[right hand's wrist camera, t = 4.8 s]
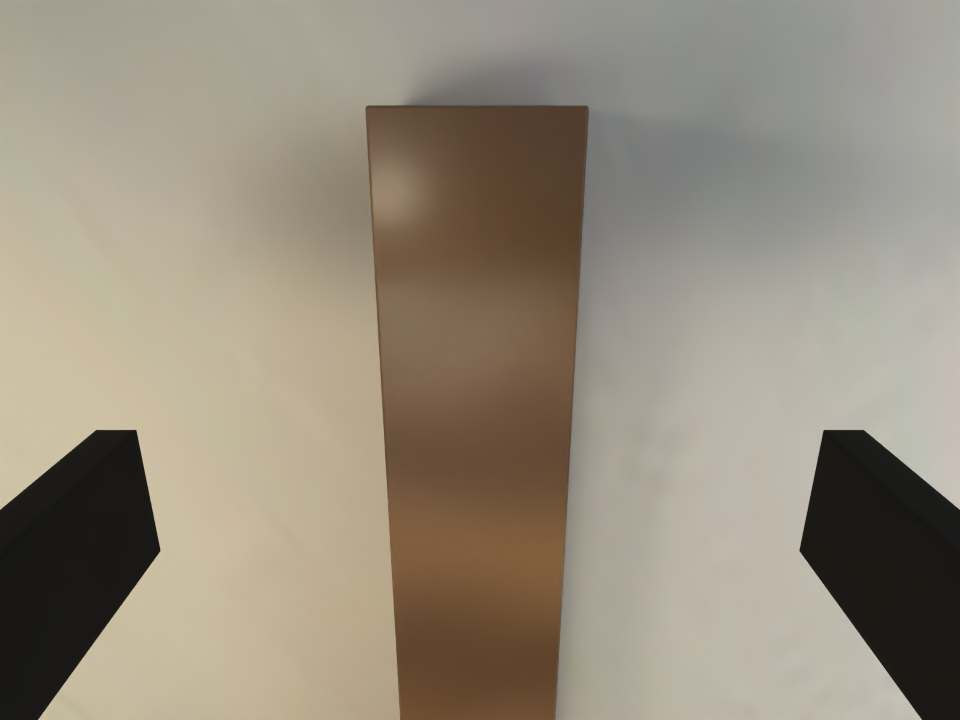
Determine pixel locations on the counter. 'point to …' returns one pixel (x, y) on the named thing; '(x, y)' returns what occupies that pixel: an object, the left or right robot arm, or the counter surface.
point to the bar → (477, 394)
